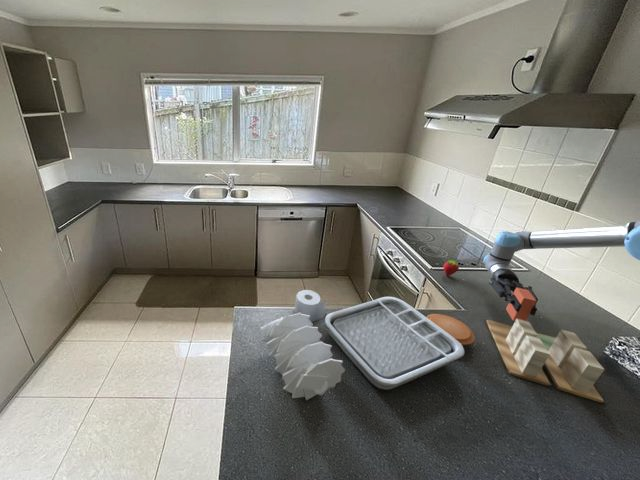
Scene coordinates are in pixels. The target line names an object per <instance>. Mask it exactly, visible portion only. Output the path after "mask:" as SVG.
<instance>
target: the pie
mask: <svg viewBox="0 0 640 480" xmlns="http://www.w3.org/2000/svg"><path fill="white" fill-rule="evenodd" d="M425 317H426V318H428V319H429V320H431V321H432V322H433V323H435V324H436V325H437V326H439V327H440V328H441V329H443V330H444V331H446V332H447V333H448V334H450V335H451V336H452V337H453V338H455V339H456V340H457V341H458V342H459V343H461V345H462V346H463V347H464V346H468V345H472V343H474V341H475V338H476V337H475V333H474V332H473V330H472V329H471V328H470V327H469V326H468V325H466V324H465V323H464V322H463V321H461V320H458V319H457V318H455V317H452V316H450V315H447V314H442V313H441V314H440V313H431V314H428V315H427V316H425Z"/></svg>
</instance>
